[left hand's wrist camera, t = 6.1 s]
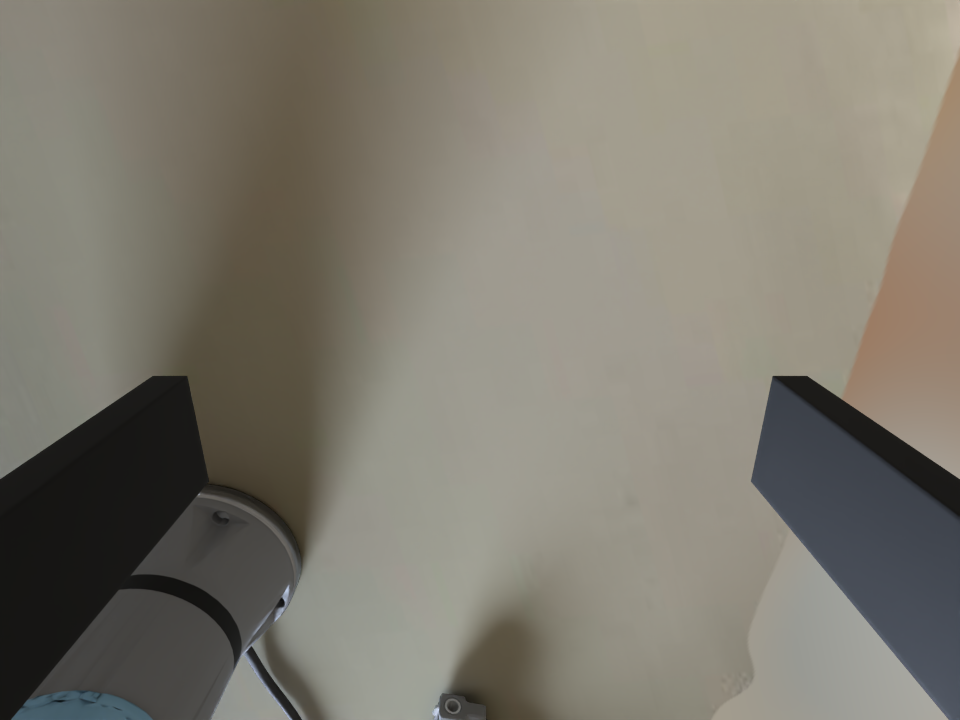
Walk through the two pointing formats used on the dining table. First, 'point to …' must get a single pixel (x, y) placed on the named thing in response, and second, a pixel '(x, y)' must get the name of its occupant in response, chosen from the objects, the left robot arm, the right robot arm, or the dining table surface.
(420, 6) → the dining table surface
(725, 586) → the dining table surface
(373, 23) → the dining table surface
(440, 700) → the pistol
